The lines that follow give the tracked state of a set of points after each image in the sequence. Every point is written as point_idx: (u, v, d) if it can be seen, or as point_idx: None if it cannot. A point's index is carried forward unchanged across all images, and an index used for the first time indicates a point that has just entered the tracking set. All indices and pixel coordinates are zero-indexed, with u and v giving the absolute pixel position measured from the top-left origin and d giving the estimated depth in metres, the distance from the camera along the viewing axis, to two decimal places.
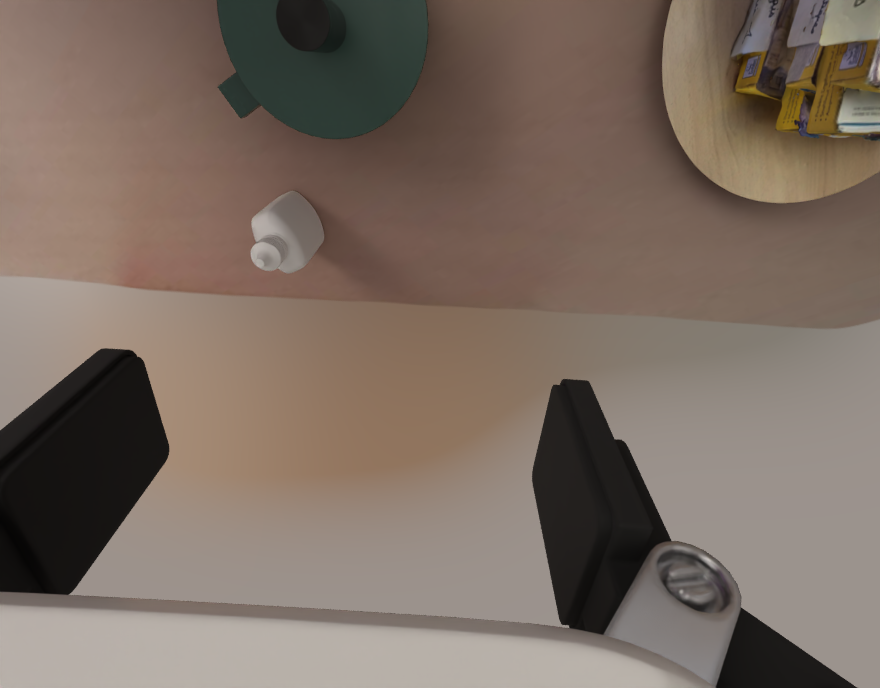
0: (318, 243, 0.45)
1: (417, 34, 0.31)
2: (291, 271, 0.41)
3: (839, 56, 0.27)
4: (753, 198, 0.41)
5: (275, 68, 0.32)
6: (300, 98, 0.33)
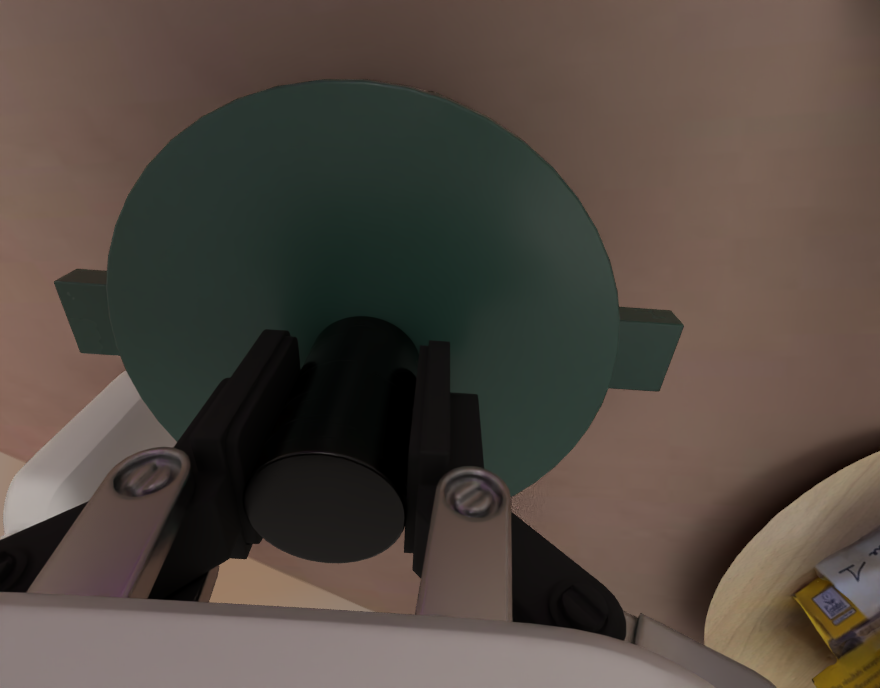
0: None
1: (528, 467, 0.15)
2: None
3: None
4: None
5: (211, 361, 0.13)
6: None
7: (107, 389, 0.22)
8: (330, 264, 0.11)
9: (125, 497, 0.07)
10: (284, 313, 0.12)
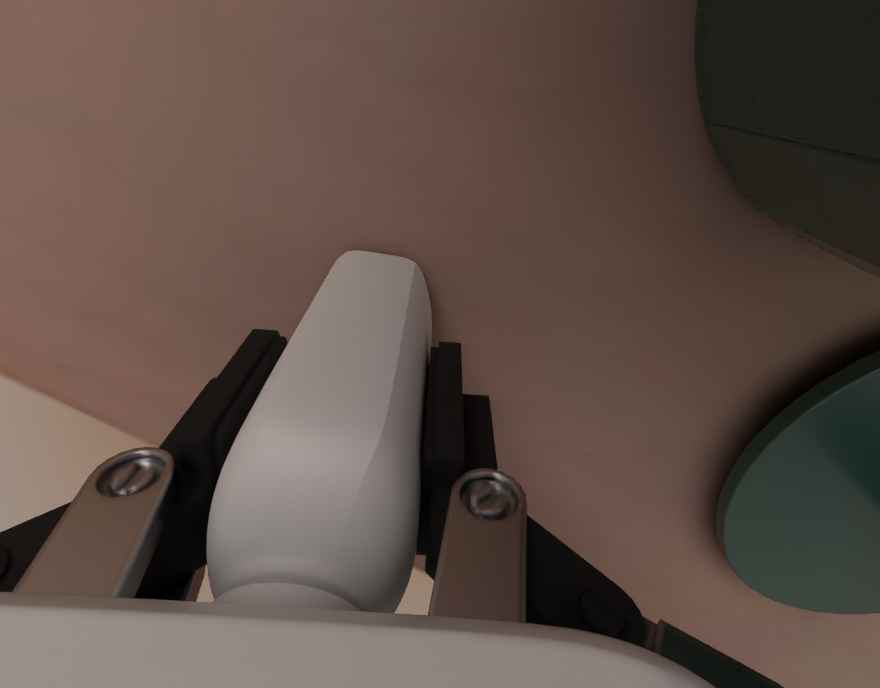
0: None
1: None
2: None
3: None
4: None
5: (807, 497, 0.16)
6: (786, 541, 0.17)
7: (342, 272, 0.11)
8: None
9: (109, 498, 0.07)
10: None
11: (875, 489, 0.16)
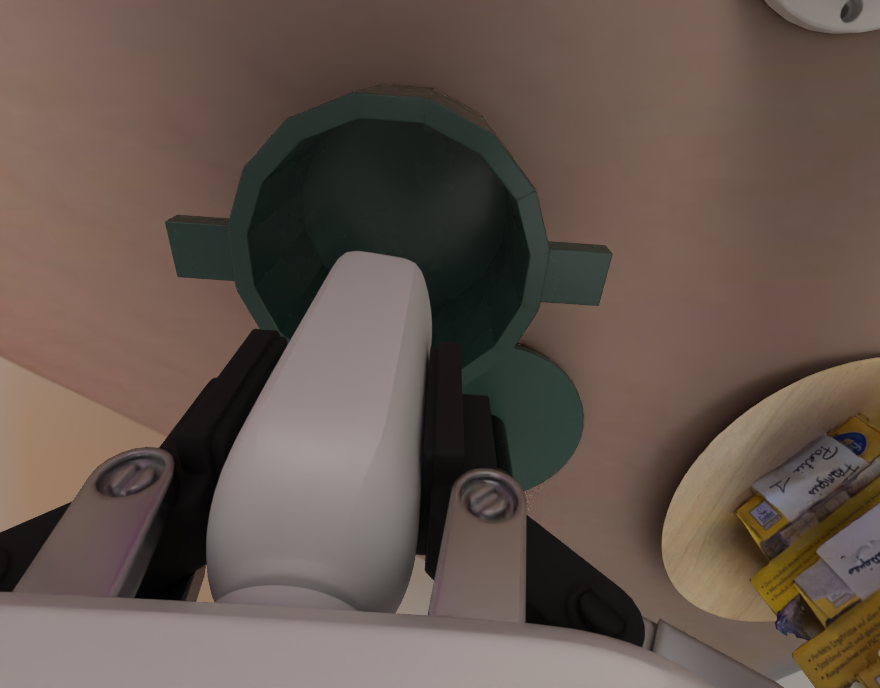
0: None
1: (547, 471, 0.34)
2: None
3: None
4: (686, 597, 0.38)
5: None
6: None
7: (342, 272, 0.11)
8: None
9: (109, 498, 0.07)
10: None
11: None
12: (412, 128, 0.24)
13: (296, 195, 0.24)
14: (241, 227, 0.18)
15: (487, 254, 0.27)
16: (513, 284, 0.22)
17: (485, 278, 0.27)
